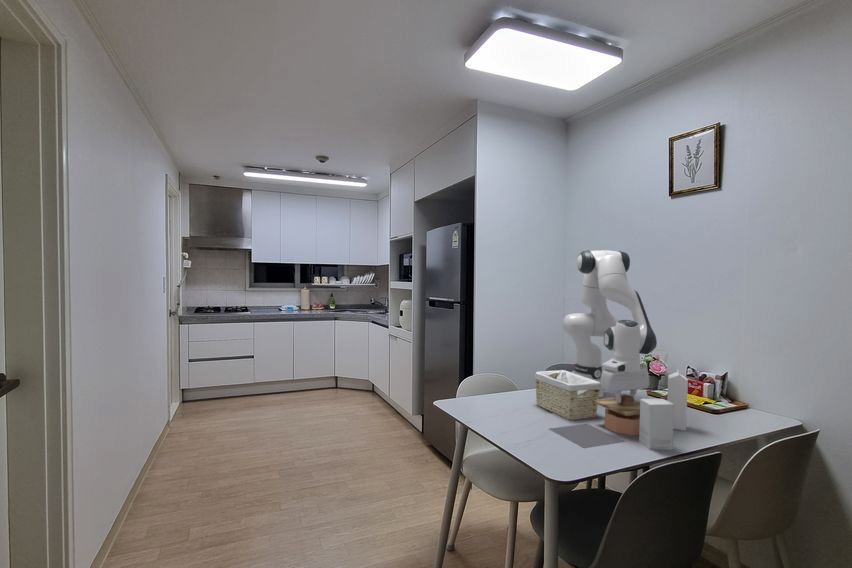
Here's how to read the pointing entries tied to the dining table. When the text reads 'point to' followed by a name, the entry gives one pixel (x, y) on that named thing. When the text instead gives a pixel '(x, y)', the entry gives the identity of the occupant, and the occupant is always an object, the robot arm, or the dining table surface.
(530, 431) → the dining table surface
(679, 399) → the milk
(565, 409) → the storage basket
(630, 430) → the terracotta bowl
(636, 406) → the oak lid
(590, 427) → the rubber mat
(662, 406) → the skincare box
